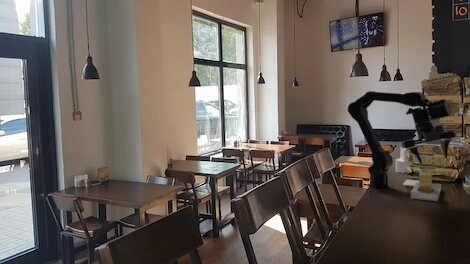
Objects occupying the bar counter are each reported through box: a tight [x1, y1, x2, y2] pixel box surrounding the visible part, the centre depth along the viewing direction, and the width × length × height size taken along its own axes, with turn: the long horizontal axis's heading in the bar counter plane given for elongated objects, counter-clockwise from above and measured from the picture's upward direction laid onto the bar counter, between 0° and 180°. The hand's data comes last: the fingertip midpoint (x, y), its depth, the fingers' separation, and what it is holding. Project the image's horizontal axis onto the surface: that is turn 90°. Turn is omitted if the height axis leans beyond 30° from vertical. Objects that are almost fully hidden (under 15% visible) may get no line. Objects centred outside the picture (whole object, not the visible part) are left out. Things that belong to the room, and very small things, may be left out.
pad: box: [402, 179, 419, 187], centre depth 162 cm, size 10×10×1 cm
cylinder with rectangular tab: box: [395, 146, 409, 174], centre depth 188 cm, size 9×9×12 cm
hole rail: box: [410, 182, 442, 202], centre depth 147 cm, size 18×9×2 cm, turn 147°
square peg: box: [418, 171, 433, 192], centre depth 143 cm, size 4×4×9 cm
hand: (433, 161), depth 145 cm, fingers open, 9 cm apart
